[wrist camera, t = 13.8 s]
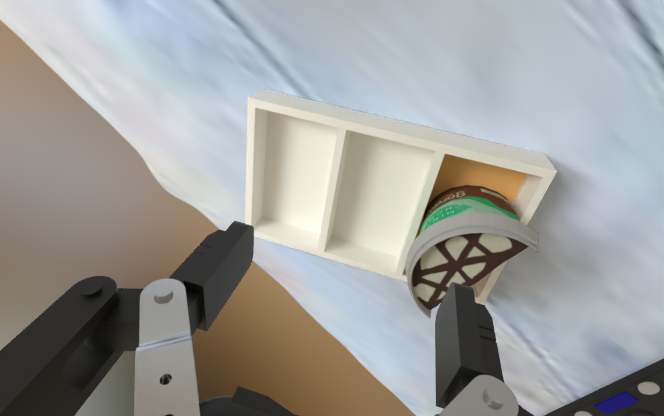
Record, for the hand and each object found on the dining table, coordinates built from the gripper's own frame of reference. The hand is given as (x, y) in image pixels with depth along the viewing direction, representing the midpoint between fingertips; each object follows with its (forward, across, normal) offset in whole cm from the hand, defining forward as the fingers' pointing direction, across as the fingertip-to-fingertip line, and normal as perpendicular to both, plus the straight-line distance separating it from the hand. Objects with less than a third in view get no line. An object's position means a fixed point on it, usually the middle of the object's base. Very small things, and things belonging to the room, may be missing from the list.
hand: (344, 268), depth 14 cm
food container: (+24, -8, +9) cm, 26 cm away
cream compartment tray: (+24, 0, +10) cm, 26 cm away
